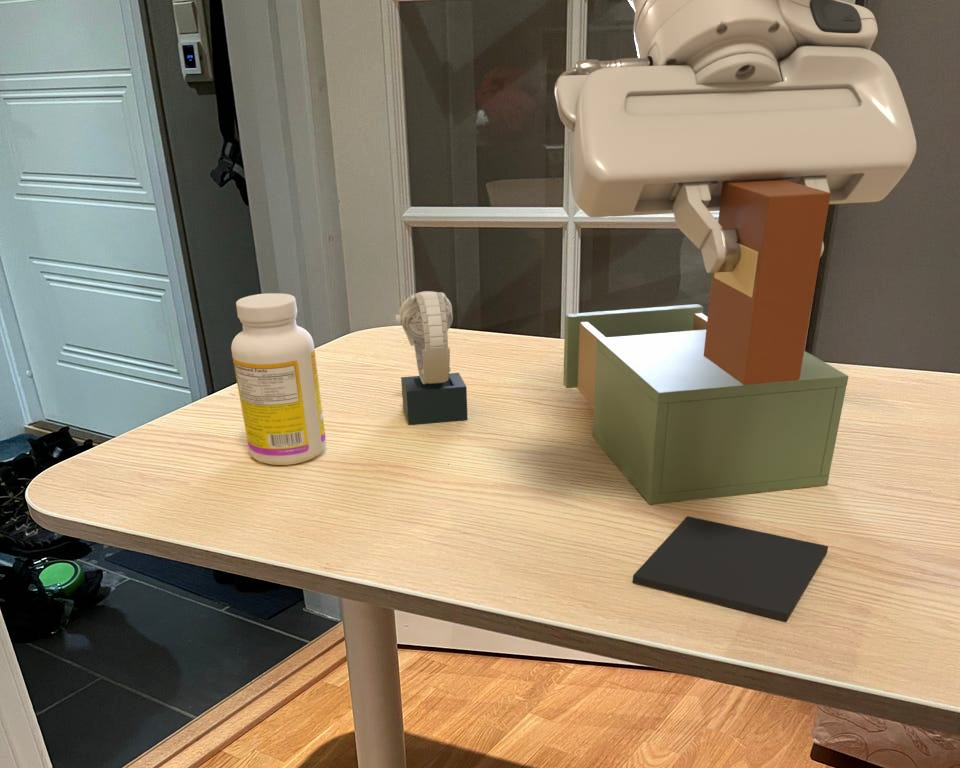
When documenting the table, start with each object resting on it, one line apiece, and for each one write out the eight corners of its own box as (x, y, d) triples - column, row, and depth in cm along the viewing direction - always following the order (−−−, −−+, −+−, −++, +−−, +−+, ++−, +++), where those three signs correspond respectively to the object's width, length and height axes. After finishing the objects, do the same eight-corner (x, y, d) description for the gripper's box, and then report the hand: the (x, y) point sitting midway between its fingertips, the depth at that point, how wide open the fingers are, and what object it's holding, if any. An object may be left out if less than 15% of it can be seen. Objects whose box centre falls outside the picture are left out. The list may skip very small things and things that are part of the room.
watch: (456, 398, 92) (452, 281, 86) (470, 426, 85) (467, 301, 79) (400, 402, 91) (391, 285, 85) (409, 431, 85) (401, 306, 79)
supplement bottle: (288, 433, 85) (267, 286, 78) (342, 448, 82) (326, 295, 75) (233, 457, 80) (205, 303, 73) (288, 473, 77) (264, 314, 70)
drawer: (551, 372, 95) (553, 303, 92) (676, 361, 97) (682, 293, 94) (605, 432, 81) (609, 353, 77) (749, 418, 83) (760, 341, 79)
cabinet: (592, 436, 83) (596, 338, 78) (746, 421, 85) (760, 325, 80) (649, 504, 71) (658, 393, 66) (827, 485, 73) (849, 375, 68)
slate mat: (827, 553, 63) (828, 545, 63) (786, 622, 56) (788, 613, 56) (686, 523, 68) (687, 515, 68) (632, 583, 61) (632, 575, 60)
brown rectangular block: (702, 356, 59) (721, 181, 53) (755, 351, 60) (779, 178, 54) (742, 385, 54) (768, 196, 49) (800, 380, 55) (832, 192, 49)
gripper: (560, 17, 51) (605, 239, 49) (899, 9, 54) (959, 218, 52) (538, 105, 57) (578, 307, 55) (845, 94, 61) (896, 284, 58)
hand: (766, 264), depth 53 cm, fingers closed on brown rectangular block, 4 cm apart
